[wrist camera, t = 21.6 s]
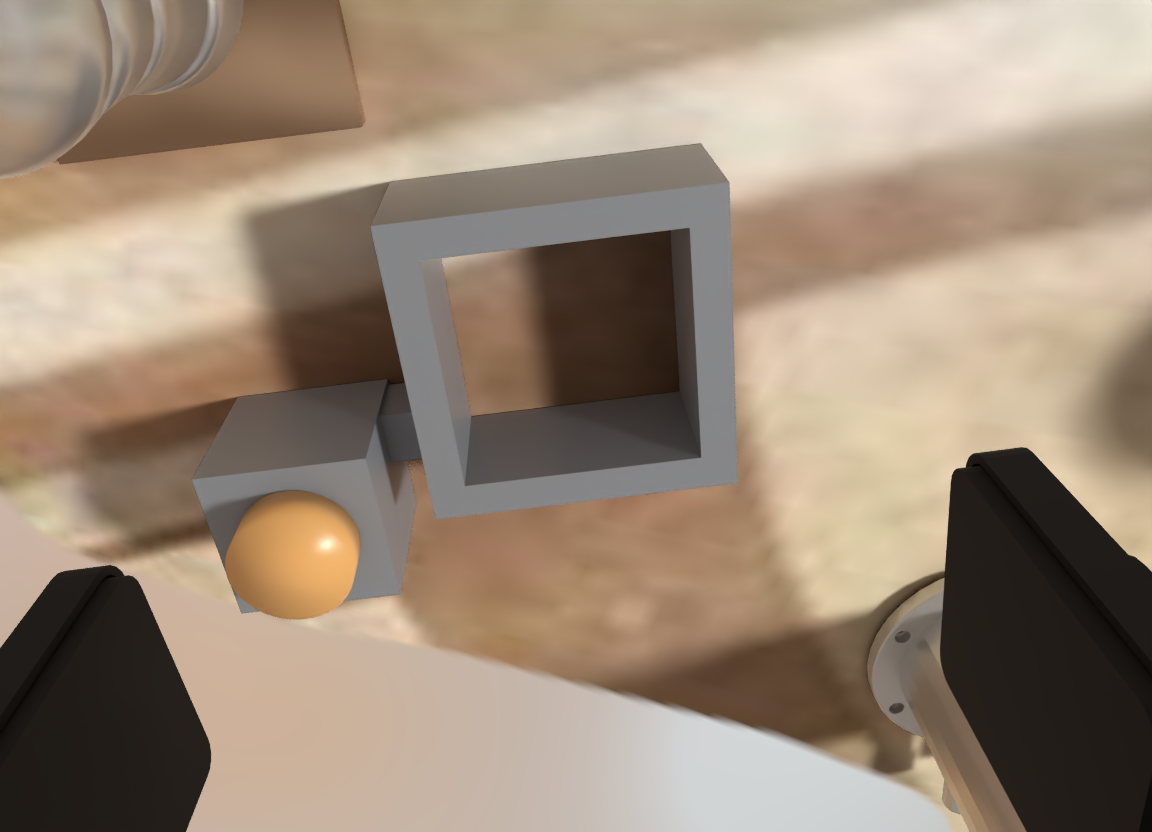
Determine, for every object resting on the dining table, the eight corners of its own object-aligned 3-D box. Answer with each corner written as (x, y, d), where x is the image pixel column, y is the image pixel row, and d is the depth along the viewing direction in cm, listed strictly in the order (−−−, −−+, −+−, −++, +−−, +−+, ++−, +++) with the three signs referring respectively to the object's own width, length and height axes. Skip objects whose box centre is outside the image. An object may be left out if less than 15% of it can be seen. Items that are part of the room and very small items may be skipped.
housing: (714, 466, 46) (744, 553, 40) (277, 519, 47) (241, 613, 41) (700, 143, 39) (734, 190, 33) (175, 208, 39) (111, 266, 33)
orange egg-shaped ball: (384, 525, 43) (366, 611, 38) (278, 538, 43) (245, 625, 38) (361, 433, 41) (337, 512, 36) (248, 446, 41) (208, 527, 36)
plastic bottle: (52, 26, 34) (-429, 164, 17) (102, -163, 32) (-412, -230, 14) (224, 111, 36) (-51, 316, 19) (285, -61, 33) (29, -9, 16)
